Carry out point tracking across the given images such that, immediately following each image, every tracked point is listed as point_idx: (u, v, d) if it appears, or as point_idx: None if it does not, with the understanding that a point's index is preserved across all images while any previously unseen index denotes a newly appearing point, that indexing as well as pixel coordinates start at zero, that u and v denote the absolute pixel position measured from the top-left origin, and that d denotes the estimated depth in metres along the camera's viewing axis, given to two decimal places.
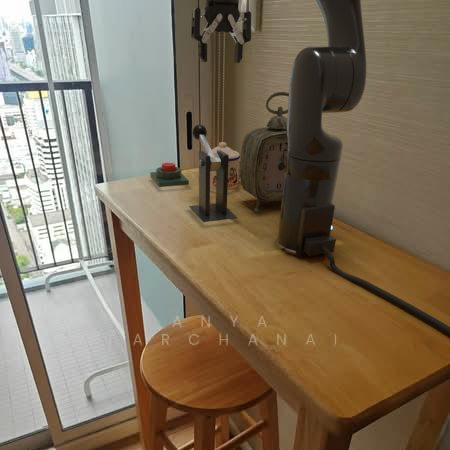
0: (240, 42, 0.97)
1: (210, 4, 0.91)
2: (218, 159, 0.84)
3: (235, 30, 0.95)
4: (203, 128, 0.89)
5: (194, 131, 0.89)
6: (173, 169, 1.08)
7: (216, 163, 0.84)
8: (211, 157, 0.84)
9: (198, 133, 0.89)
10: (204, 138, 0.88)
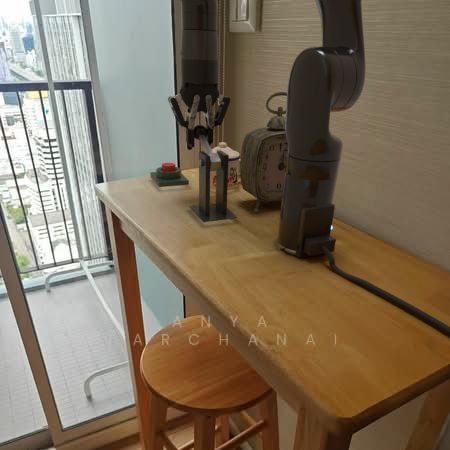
0: (210, 126, 0.89)
1: (186, 85, 0.83)
2: (218, 159, 0.84)
3: (209, 112, 0.87)
4: (203, 128, 0.89)
5: (194, 131, 0.89)
6: (173, 169, 1.08)
7: (216, 163, 0.84)
8: (211, 157, 0.84)
9: (198, 133, 0.89)
10: (204, 138, 0.88)
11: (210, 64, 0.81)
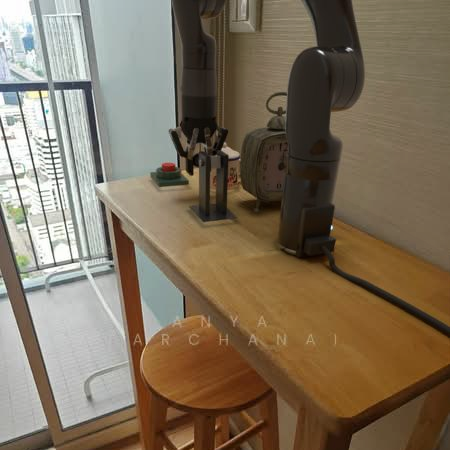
0: None
1: (186, 119, 0.87)
2: None
3: (207, 143, 0.91)
4: None
5: (193, 158, 0.93)
6: (173, 169, 1.08)
7: (215, 158, 0.84)
8: None
9: (196, 157, 0.92)
10: None
11: (209, 100, 0.85)
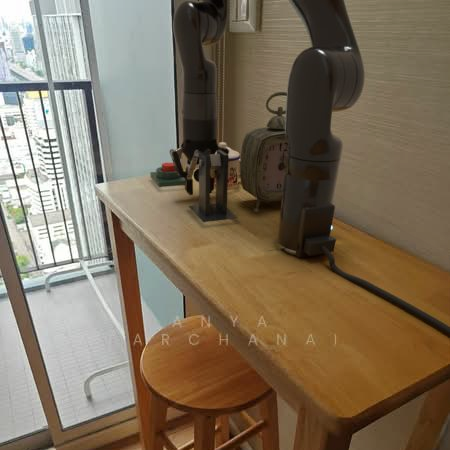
0: (211, 175, 0.95)
1: (187, 141, 0.89)
2: None
3: None
4: None
5: (194, 172, 0.94)
6: (173, 169, 1.08)
7: (214, 155, 0.84)
8: None
9: (198, 171, 0.93)
10: None
11: (209, 123, 0.86)
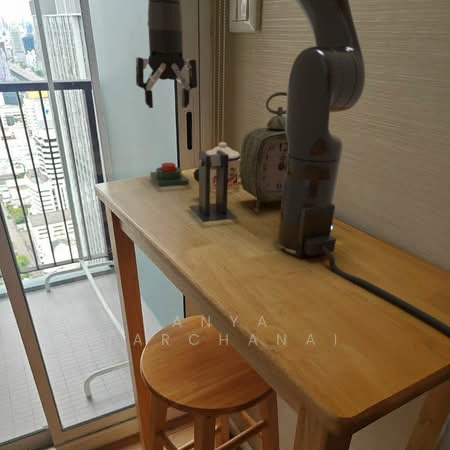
0: (186, 88, 0.98)
1: (153, 54, 0.92)
2: None
3: (180, 78, 0.96)
4: None
5: (194, 172, 0.94)
6: (173, 169, 1.08)
7: (214, 155, 0.84)
8: None
9: (198, 171, 0.93)
10: None
11: (174, 34, 0.89)
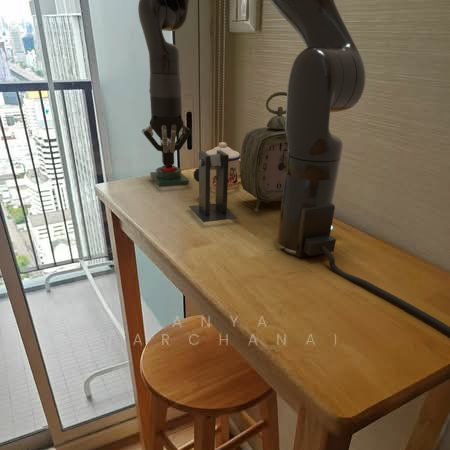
0: (170, 150, 1.05)
1: (154, 117, 1.00)
2: None
3: (172, 139, 1.04)
4: None
5: (194, 172, 0.94)
6: None
7: (214, 155, 0.84)
8: None
9: (198, 171, 0.93)
10: None
11: (174, 101, 0.97)
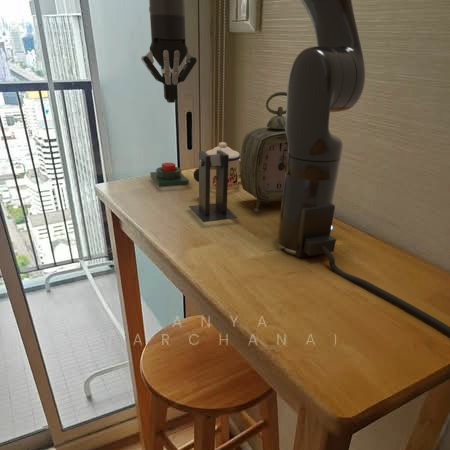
0: (173, 81, 0.94)
1: (155, 41, 0.89)
2: None
3: (175, 67, 0.93)
4: None
5: (194, 172, 0.94)
6: (173, 169, 1.08)
7: (214, 155, 0.84)
8: None
9: (198, 171, 0.93)
10: None
11: (176, 19, 0.86)
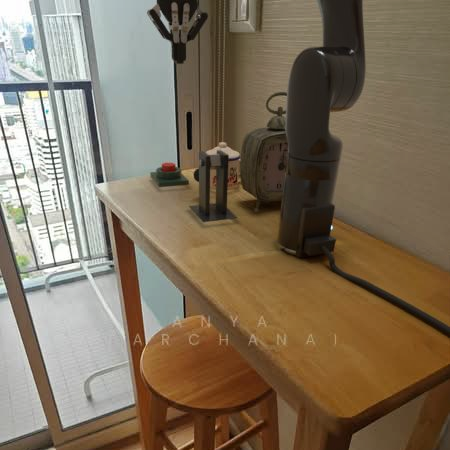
0: (182, 39, 0.86)
1: None
2: None
3: (184, 23, 0.84)
4: None
5: (194, 172, 0.94)
6: (173, 169, 1.08)
7: (214, 155, 0.84)
8: None
9: (198, 171, 0.93)
10: None
11: None
